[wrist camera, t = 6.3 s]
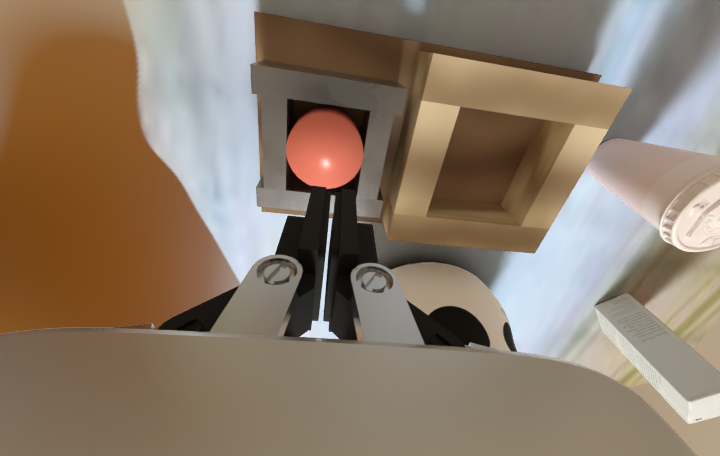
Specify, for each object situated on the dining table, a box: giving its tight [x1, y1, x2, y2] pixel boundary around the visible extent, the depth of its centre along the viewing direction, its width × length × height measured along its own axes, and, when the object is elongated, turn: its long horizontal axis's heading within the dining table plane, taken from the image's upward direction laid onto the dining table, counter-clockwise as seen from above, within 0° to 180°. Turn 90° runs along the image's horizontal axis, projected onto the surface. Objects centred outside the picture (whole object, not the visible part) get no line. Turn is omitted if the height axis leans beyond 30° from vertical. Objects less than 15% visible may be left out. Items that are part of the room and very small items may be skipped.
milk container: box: [390, 261, 517, 352], centre depth 27 cm, size 17×17×18 cm
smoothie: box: [586, 138, 720, 252], centre depth 20 cm, size 6×6×14 cm
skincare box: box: [595, 293, 720, 424], centre depth 33 cm, size 6×4×12 cm
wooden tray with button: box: [250, 12, 632, 253], centre depth 22 cm, size 14×24×5 cm, turn 81°
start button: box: [286, 104, 363, 189], centre depth 20 cm, size 5×5×3 cm
